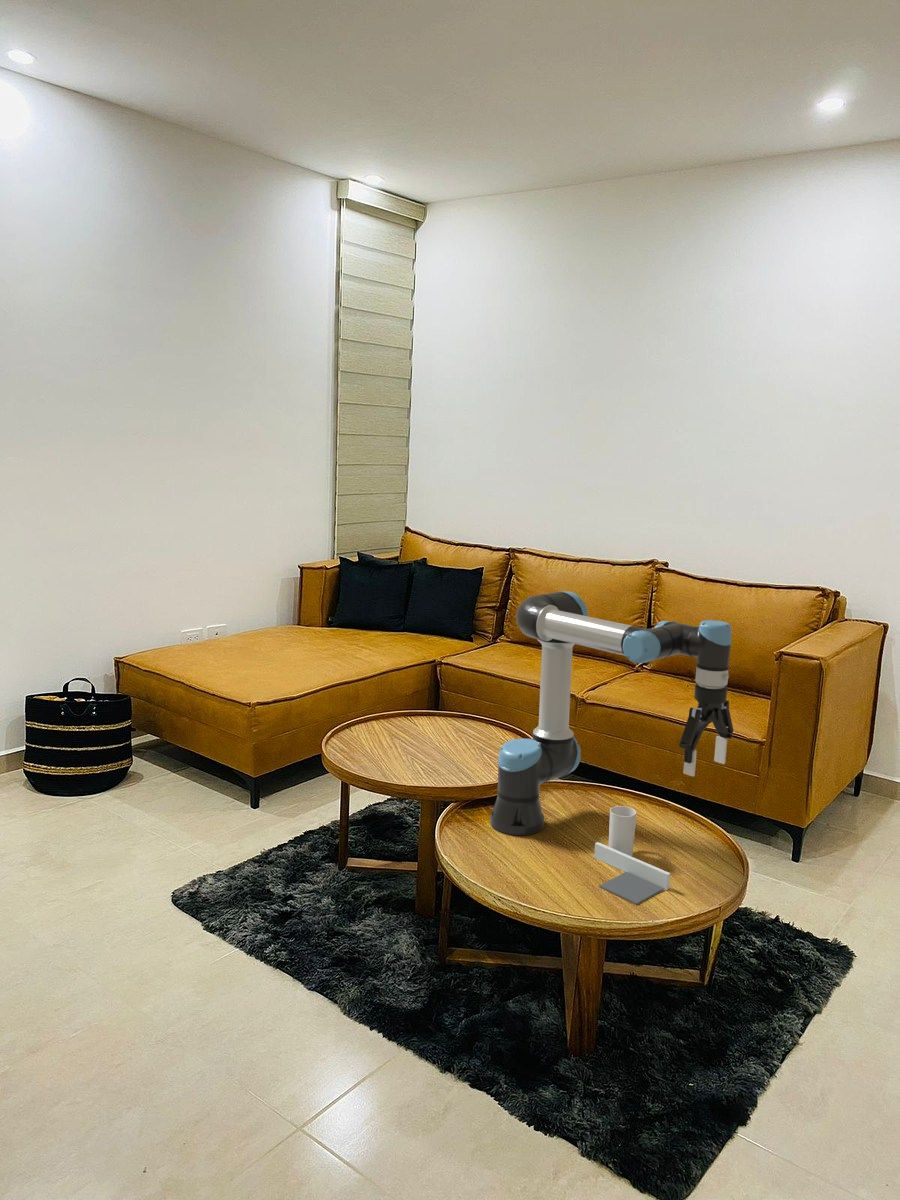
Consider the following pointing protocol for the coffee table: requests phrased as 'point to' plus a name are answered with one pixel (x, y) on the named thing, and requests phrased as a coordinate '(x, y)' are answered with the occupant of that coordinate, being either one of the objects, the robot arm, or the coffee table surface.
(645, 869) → the wall
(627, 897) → the mat
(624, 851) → the mug
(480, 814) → the coffee table surface
